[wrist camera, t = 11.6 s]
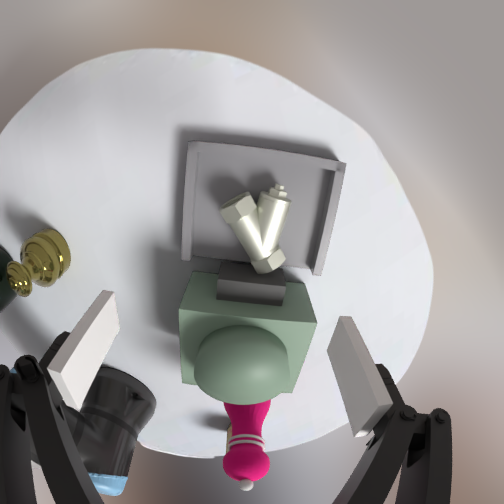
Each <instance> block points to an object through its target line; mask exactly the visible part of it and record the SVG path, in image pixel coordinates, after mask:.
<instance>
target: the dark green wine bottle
mask: <svg viewBox="0 0 504 504" xmlns="http://www.w3.org/2000/svg"><path fill="white" fill-rule="evenodd" d="M11 261H12V259H11V258H10V256H9V255H8V254H7V253H6V252H5V251H4V250H3V249H1V248H0V313H1V312H2V311H3V310H4V309H5V308H6V307H7V306H8V305H9V304H10V303H11V302H12V301H13V300H14V299H15V298H16V297H17V296H18V294H17V293H15V292H14V290H13V289H12V288H11V287H10V285H9V283H8V280H7V277H6V266H7V264H8V263H9V262H11Z"/></svg>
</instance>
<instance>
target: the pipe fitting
mask: <svg viewBox="0 0 504 504" xmlns="http://www.w3.org/2000/svg"><path fill="white" fill-rule="evenodd" d="M283 189H284V186H283V185H280V184H277V183H276V184H275V187H269V191H268V192H266V191H261V192H260V195H259V199H258V202H257V205H256V203H255V201H254V200H253V198H252V196H251V194H250V193H249V192H244V193H242V194H239V195H237V196H236V197H234V198H232V199H230V200H229V201H227V202H226V203H225V204H223V205H222V206H221V207H220V209H219V210H220V213H221V215H222V217H223V218H224V220H225V222H226V223H229V225H230V226H231V228H232V230H233V231H234V233H235V235H236V236H237V238H238V239H239V241H240V243H241V244H242V246H243V248H244V249H245V251H246V252H247V254H248V256H249V257H250V260H251V263H252V265H253V267H254V269H255V270H256V272H257V273H258V274H264V273H268V272H271V271H273V270H275V269H277V268H278V267H279V266H280V265H281V264H282V263H283V262H284V261H285V259H286V258H285V256H284V253H283V251H282V250H281V248H280V246H279V244H278V242H279V239H280V236H281V233H282V230H283V227H284V224H285V221H286V218H287V215H288V212H289V209H290V206H291V203H292V201H291V200H290V199H288V198H286V195H287V192H286V191H284V190H283Z"/></svg>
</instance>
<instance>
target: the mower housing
mask: <svg viewBox="0 0 504 504" xmlns="http://www.w3.org/2000/svg"><path fill="white" fill-rule="evenodd" d="M316 326H317V320H316V317H315V314H314V311H313V308H312V304H311V301H310V298H309V295H308V292H307V289H306V286H305V284H304V283H294V282H285V279H284V274H283V269H281V268H277V269H275V270H273V271H271V272H268V273H264V274H258V273H257V272H256V270H255V269H254V267H253V265H246V264H237V263H229V262H221V266H220V271H219V274H213V273H205V272H197V271H193V272H192V275H191V278H190V280H189V283H188V285H187V288H186V291H185V293H184V296H183V299H182V301H181V304H180V307H179V336H180V357H181V373H182V383H185V384H191V385H198V386H199V387H200V389H201V390H202V391H203V392H205V393H206V394H207V395H209V396H211V397H213V398H215V399H217V400H219V401H222V402H226V403H230V404H238V405H249V404H257V403H261V402H265V401H268V400H270V399H272V398H274V397H276V396H278V395H279V394H280V393H292V391H293V389H294V386H295V384H296V381H297V379H298V376H299V373H300V371H301V368H302V365H303V363H304V360H305V357H306V355H307V352H308V349H309V346H310V343H311V340H312V337H313V335H314V332H315V329H316Z"/></svg>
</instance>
